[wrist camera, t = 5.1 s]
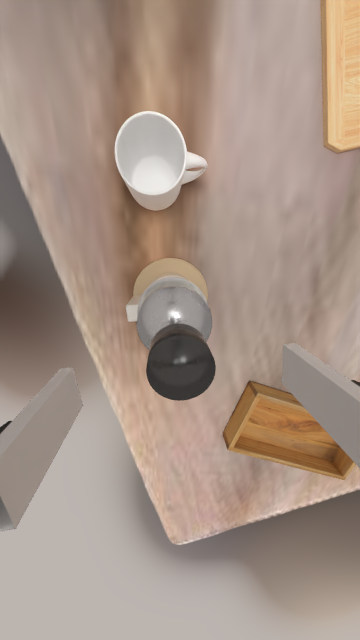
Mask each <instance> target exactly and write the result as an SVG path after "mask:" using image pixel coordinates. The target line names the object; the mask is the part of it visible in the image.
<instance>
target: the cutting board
mask: <svg viewBox="0 0 360 640" xmlns="http://www.w3.org/2000/svg"><path fill="white" fill-rule="evenodd" d="M321 37H322V83H323V129H324V146H325V147H327V148H328V149H330V150H332V151H334V152H336V153H340V152H344V151H349V150H353V149H357V148H360V0H321Z"/></svg>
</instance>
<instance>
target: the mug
mask: <svg viewBox="0 0 360 640" xmlns="http://www.w3.org/2000/svg"><path fill="white" fill-rule="evenodd" d="M115 160H116V164H117V167H118V170H119V172H120V174H121V176H122V178H123V180H124V181H125V183H126V185H127V187H128V189H129V191H130V192H131V194H132V196H133V197H134V199H135V200H136V201H137V202H138V203H139V204H140V205H141V206H143V207H144V208H146V209H149V210H154V211H158V210H163V209H166V208H168V207H169V206H170V205H172V204H173V203H174V202H175V200H176V199H177V197H178V195H179V192H180V189H181V185H182V184H185V183H188V182H190V181H192V180H194V179H196V178H198V177H199V176H200V175H202V174H203V173H204V172H205V170H206V169H207V162H206V160H205V159H204V158H202V157H200V156H198V155H196V154H193V153H190V152H187V150H186V144H185V141H184V138H183V136H182V134H181V132H180V130H179V128H178V127H177V126H176V125H175V123H174V122H173V121H172V120H170V119H169V118H168V117H166V116H165V115H163V114H160V113H158V112H153V111H144V112H140V113H137V114H135V115H133V116H131V117H130V118H129V119H128V120H126V121H125V123H124V124H123V125H122V127H121V128H120V130H119V132H118V135H117V138H116V142H115ZM195 167H204V168H203V169H202V170H199V171H186V169H190V168H195Z"/></svg>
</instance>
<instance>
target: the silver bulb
mask: <svg viewBox="0 0 360 640" xmlns="http://www.w3.org/2000/svg"><path fill="white" fill-rule="evenodd" d="M211 328H212V316H211V312H210V309H209V307H208V305H207V304H206V302H205V301H204V300H203V298H202V297H201V296H200V295H199V294H197V293H196V292H195V291H193V290H191V289H189V288H186V287H182V286H167V287H163V288H160V289H158V290H156V291H155V292H153V293H152V294H150V295H149V296H148V297H147V298H146V299H145V301H144V302H143V303H142V305H141V307H140V309H139V312H138V316H137V331H138V334H139V337H140V339H141V341H142V342H143V344H144V345H145V346H146V347H147V348H148V349H149V356H148V362H147V369H146V372H147V378H148V381H149V383H150V385H151V387H152V388H153V389H154V390H155V391H156V392H157V393H158V394H160V395H161V396H163V397H165V398H168V399H171V400H188V399H192V398H194V397H197V396H198V395H200V394H202V393H203V392H204V391H205V390H206V389H207V388H208V387H209V386H210V384H211V383H212V381H213V379H214V376H215V361H214V358H213V356H212V354H211V352H210V349H209V347H208V345H207V343H206V341H207V340H208V338H209V335H210V333H211Z"/></svg>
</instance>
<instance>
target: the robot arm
mask: <svg viewBox="0 0 360 640" xmlns="http://www.w3.org/2000/svg"><path fill="white" fill-rule="evenodd" d="M281 382H282V384H283V385H284V386H285V387H286V388H287V389H288V390H289V391H290V392H291V393H292V394H293V396H294V397H295V398H296V399H297V400H298V401H299V402H300V403H301V404H302V405H303V407H304V408H305V409H306V410H307V411H308V412H309V413H310V414H311V415H312V416H313V417H314V419H315V420H316V421H317V422H318V423H319V424H320V425H321V426H322V427H323V428H324V430H325V431H326V432H327V433H328V434H329V435H330V436H331V437H332V438H333V439H334V441H335V442H336V443H337V444H338V445H339V446H340V447H341V448H342V449H343V450H344V451H345V453H346V454H347V455H348V456H349V457H350V458H351V459H352V460H353V461H354V462H355V464H356V465H357V466H358V467H359V468H360V382H357V381H355V380H349V379H348V378H346V377H345V376H343V375H342V374H340V373H339V372H337V371H336V370H334V369H333V368H331V367H330V366H328V365H327V364H325V363H324V362H323V361H321V360H320V359H318V358H317V357H315V356H314V355H312V354H311V353H309V352H308V351H306V350H305V349H303V348H302V347H300V346H299V345H297V344H296V343H291V344H283V362H282V380H281ZM82 406H83V404H82V400H81V396H80V392H79V389H78V384H77V381H76V377H75V373H74V369H73V367H72V368H63V369H60V370H59V371H58V372H57V373H56V374H55V375H54V376H53V377H52V378H51V380H50V381H49V382H48V383H47V384H46V385H45V386H44V387H43V388H42V389H41V390H40V391H39V393H38V394H37V395H36V396H35V397H34V398H33V399H32V400H31V401H30V402H29V403H28V405H27V406H26V407H25V408H24V409H23V410H22V411H21V412H20V413H19V414H18V416H16V418H15V419H14V420H13V421H8V422H7V423H6V424H4V425H3V426H1V427H0V531H4V530H12V529H16V527H17V525H18V523H19V522H20V520H21V518H22V516H23V514H24V512H25V511H26V509H27V507H28V505H29V503H30V501H31V500H32V498H33V496H34V494H35V492H36V490H37V489H38V487H39V485H40V483H41V481H42V479H43V478H44V476H45V474H46V472H47V470H48V468H49V467H50V465H51V463H52V461H53V459H54V457H55V456H56V454H57V452H58V450H59V448H60V446H61V445H62V443H63V441H64V439H65V437H66V435H67V434H68V432H69V430H70V428H71V426H72V424H73V423H74V421H75V419H76V417H77V415H78V413H79V412H80V410H81V408H82Z"/></svg>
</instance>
